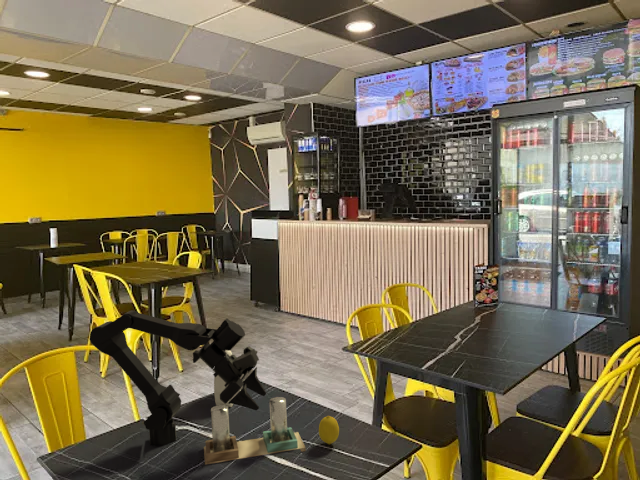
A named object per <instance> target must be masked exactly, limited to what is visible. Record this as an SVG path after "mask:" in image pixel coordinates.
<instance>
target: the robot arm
mask: <svg viewBox="0 0 640 480" xmlns="http://www.w3.org/2000/svg"><path fill="white" fill-rule="evenodd" d="M127 329H132V330H136V331H139V332H142V333H146V334H149V335H154V336H157V337H161V338H164V339H167V340H170V341H172V342H173V343H174V344H175V345H176V346H177V347H180V348H183V349H184V350H186V351H192V356H193V357H192V363H193V364H196V363H197V362H198V361H199V360H200V359H201V360H202V362H204V364H206V366H208V367H209V368H210V369H211V370H212V371H213V372H214V373H213V374H212V375H213V376H215V377H216V376H217V375H218V376H219V377H220V378H221V379H222V380H223V381H224V382H225V383H226V384H225V385H224V386H225V388H224V389H223V391H222V392H221V393H220V400H221V401H222V402H223V403H224V404H226V403H227V402H228V401H229V400H230V401H229V402H228V404H230V403H231V404H233V405H236V406H240V407H244V408H247V409H250V410H253V411H258V410H259V408H260V407H259V405H258V403H257V402H256V401H255V399H253V398H252V396H251V395H250V393H248V390H250V391H251V392H254V393H256V394H257V395H259V396H262V397H265V396H266V395H267V392H266V390H265V389H264V386H263V385H262V383H261V381H260V380H259V378H258V375H257V372H258V367H257V365H258V362H259V360H260V359H259V356H258V351H257V350H256V349H255V348H252V347H251V346H249V345H248V346H246V347H245V348H244V349H243V350H242V351H243V353H241V355H239V356H236V355H235V354H232V355H231V356H229V355H228V354H227V353H226V352H225V350H228V351H232V350H233V349H234V347H236V346H237V344H238V343H240V341H241V340H242V339H243V338H244V337H245V335H246V332H245V330H244V329H243V327H242V326H241V325H240V324H238V323H236V322H235V321H232V320H230V319H229V318H225V319H224V320H223V321H222V322H221V324H220V325H219V326H218V327H217V328H209V327H206V326H204V325H202V324H200V323H192V322H181V323H180V322H173V321H170V320H166V319H164V318H163V319H162V318H159V317H155V316H153V315H148V314H146V313H142V312H138V311H137V310H129V311H128V312H125V313H123V314H122V315H121V316H120V317H118V318H116V319H114V320H113V321H109V320H108V321H106V322H103V323H102V324H100V325H98V326H96V327H94V328H92V330H91V331H90V332H89V338H88V339H89V342H90V344H91V345H92V346H94V348H96V349H97V350H98V351H99V352H101V353H102V354H105V355H107V356H109V357H111V358H112V359H113V360H114V361H115V362H116V363H117V365H118V366H119V367H120V368H121V369H122V371H124V373H125V374H126V376H127V377H128V378H129V379H130V380H131V382H132V383H133V384H134V385H135V386H136V387H137V389H138V390H139V391H140V393H142V395H143V396H144V397H145V401H146V405H147V409H148V410H149V412H150V415H149V416H148V417H147V418H146V419H145V421H143V424H144V427H145V430H148V433H149V434H148V436H149V446H155V447H162V446H165V445H169V444H171V443H173V442H176V441H177V428H176V423H174V417H175V416H176V413H178V411H179V410H180V409H181V407H182V400H181V397H180V396H181V394H180V393H178V392H177V391H176V390H175V388H174V387H173V385H172V384H169V385H168V386H164V385H162V384H161V383H159V381H158V380H157V379H156V378H155V376H154V375H153V374H152V373H151V372H150V370H149V369H148V368H147V367H146V366H145V364H144V363H143V362H142V361H141V360H140V358H139V357H138V356H137V355H136V354H135V353H134V351H133V350H132V349H131V348H130V346H129V345H128V343H127V337H126V333H124V331H126V330H127ZM210 341H212V342H211V343H209V342H210ZM200 346H202V347H201V348H200ZM198 348H200V349H199V350H196V349H198ZM194 350H195V351H194ZM193 351H194V352H193ZM226 354H227V355H226ZM247 389H248V390H247Z"/></svg>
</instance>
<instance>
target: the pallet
mask: <svg viewBox="0 0 640 480" xmlns="http://www.w3.org/2000/svg"><path fill="white" fill-rule="evenodd" d="M287 435H288V440H287V441H280V442H274V443H272V442H271V429H270V430H265V431H262V437H259V438H252V439H246V440H239V441H237V438H236V435H234V436H230V450H225V451H219V452H213V438H212V439H207V440H205V446H203V452H204V453H203V455H204V456H203V457H204V465H211V464H216V463H217V464H218V463H222V462H223V463H224V462H228V461H233V460H241V459H246V458H253V457H257V456H264V455H265V456H266V455H270V454H277V453H283V452H288V451H295V450H300V452H301V453H304V452H306V449H307V448H306V445H305V444H304V441H303V439H302V438H301V435H300V434H299V431H296V432H295V431H294V430H293V428H292V426H291V427H290V426H289V427H287Z"/></svg>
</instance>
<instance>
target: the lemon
mask: <svg viewBox="0 0 640 480" xmlns="http://www.w3.org/2000/svg"><path fill="white" fill-rule="evenodd" d="M339 434H340V427H339V424H338V421H337V419H336V418H334V417H333V416H330V415H327V416H325V417H322V419H321V420H320V422H319V425H318V435H319V438H320V440H321V441H323V442H324V443H325V444H327V445H331V444H333V443H335V442H337V440H338V439H339Z"/></svg>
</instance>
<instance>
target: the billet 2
mask: <svg viewBox="0 0 640 480" xmlns="http://www.w3.org/2000/svg"><path fill="white" fill-rule="evenodd" d="M268 402H269V416H270V417H269V420H270V421H269V422H270V430H271V442H272V443H274V442H280V441H287V440H288V435H287V428H288V420H287V419H288V418H287V416H288V415H287V399H286V398H285V397H283V396H277V397H276V396H275V397H271V398H270V399H269V401H268Z"/></svg>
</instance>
